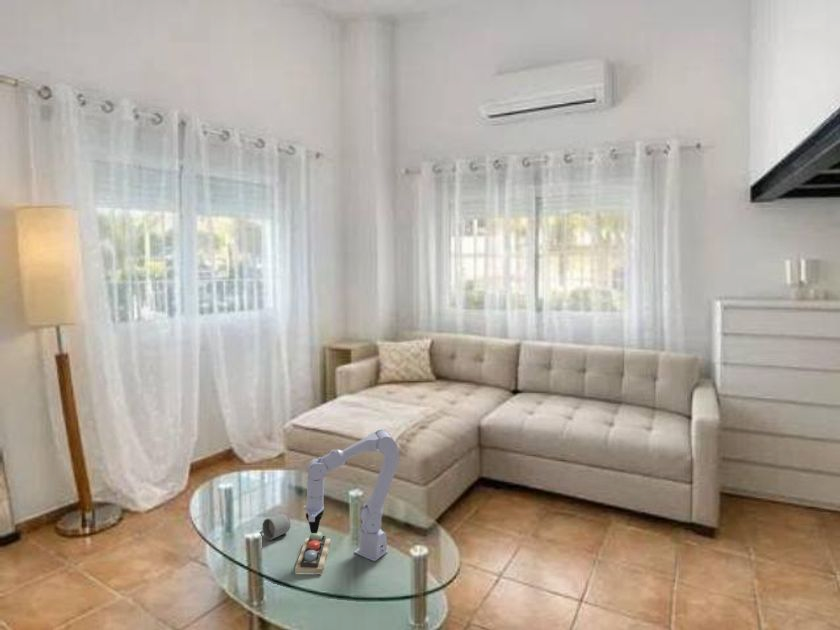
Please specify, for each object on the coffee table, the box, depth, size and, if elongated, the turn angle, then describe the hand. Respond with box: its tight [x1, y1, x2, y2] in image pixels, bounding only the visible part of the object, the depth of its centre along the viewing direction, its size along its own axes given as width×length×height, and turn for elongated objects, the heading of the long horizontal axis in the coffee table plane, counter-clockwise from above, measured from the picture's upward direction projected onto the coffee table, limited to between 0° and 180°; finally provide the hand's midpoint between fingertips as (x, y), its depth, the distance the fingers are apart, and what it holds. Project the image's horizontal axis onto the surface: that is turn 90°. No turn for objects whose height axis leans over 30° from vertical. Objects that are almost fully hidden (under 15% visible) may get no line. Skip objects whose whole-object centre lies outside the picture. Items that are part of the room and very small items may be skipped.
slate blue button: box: [305, 550, 317, 562], centre depth 178 cm, size 4×4×2 cm
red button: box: [308, 540, 320, 551], centre depth 185 cm, size 4×4×2 cm
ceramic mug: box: [261, 513, 292, 541], centre depth 200 cm, size 11×8×8 cm
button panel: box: [294, 534, 331, 575], centre depth 185 cm, size 20×9×3 cm, turn 2°
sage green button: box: [310, 531, 324, 542], centre depth 191 cm, size 4×4×2 cm
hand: (314, 532), depth 184 cm, fingers closed
